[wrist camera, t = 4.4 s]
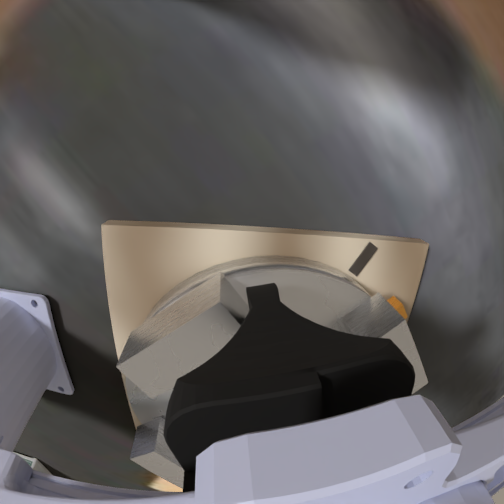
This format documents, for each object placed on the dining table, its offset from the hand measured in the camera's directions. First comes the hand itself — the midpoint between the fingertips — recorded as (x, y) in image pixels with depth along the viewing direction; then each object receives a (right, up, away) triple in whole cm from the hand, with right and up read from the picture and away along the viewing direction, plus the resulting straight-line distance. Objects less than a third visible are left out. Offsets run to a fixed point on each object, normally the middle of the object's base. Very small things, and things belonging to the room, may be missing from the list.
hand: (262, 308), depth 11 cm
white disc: (0, -5, +5) cm, 7 cm away
